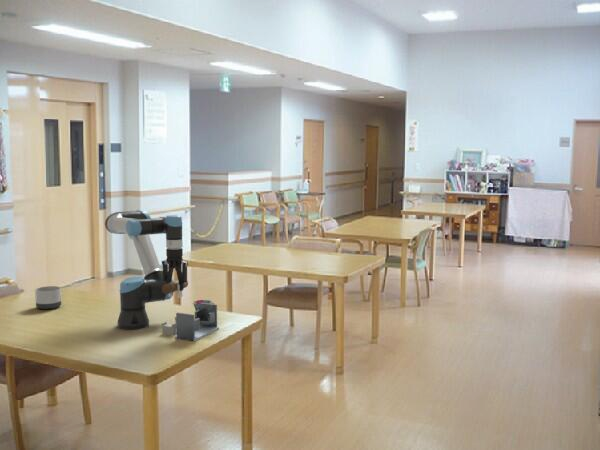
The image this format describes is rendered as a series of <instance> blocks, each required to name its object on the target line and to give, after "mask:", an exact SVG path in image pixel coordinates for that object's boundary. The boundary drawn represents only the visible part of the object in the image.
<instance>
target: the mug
mask: <svg viewBox="0 0 600 450" xmlns="http://www.w3.org/2000/svg"><path fill="white" fill-rule="evenodd" d="M200 303H207V304H215V303H214V302H212V301H211V300H210V299H209V300H208V299H198V300H194V301H192V305H193V307H194V310H195V311H198V310H200ZM195 311H194V312H195Z"/></svg>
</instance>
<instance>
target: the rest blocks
mask: <svg viewBox="0 0 600 450" xmlns="http://www.w3.org/2000/svg"><path fill="white" fill-rule="evenodd" d="M174 320H175V322H174V323H172V324H170V323H167V321H163V322H161V325H160V326H161V334H162V335H166V336H167V335H168V336H176V335H177V328H176V316H175V317H174Z"/></svg>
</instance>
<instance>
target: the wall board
mask: <svg viewBox="0 0 600 450" xmlns="http://www.w3.org/2000/svg"><path fill="white" fill-rule="evenodd" d="M218 330H220V326H217V327H209V326H202V325H200V329H199V330H197V331H195V338H194V341H193V342H197V341H200V340H201V339H203V338H205V337H207V336H209V335H210V334H212V333H214V332H216V331H218ZM180 338H182V337H180ZM174 339H177V335H174ZM184 339H185V340H184V341H187V340H186V338H184ZM187 339H188V338H187ZM177 340H178V339H177ZM189 340H190V338H189ZM189 340H188V341H189Z"/></svg>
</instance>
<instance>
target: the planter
mask: <svg viewBox="0 0 600 450" xmlns="http://www.w3.org/2000/svg"><path fill="white" fill-rule="evenodd" d="M61 288H62V287H60V286H56V285H55V286H54V285H52V286H51V285H49V286H41V287H36V289H35V290H34V292H35V307H36V308H38V309H41V310H45V309H47V310H53V309H52V308H54V309H57V308H58V307H60V306H61V305H62V289H61Z"/></svg>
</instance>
